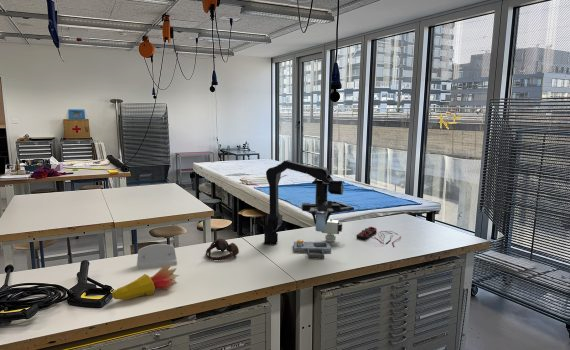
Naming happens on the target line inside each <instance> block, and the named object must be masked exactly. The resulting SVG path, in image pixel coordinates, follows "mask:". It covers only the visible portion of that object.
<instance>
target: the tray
mask: <svg viewBox="0 0 570 350" xmlns="http://www.w3.org/2000/svg"><path fill="white" fill-rule="evenodd" d="M306 253H307V257H308V259H314V260H315V259H320V260H322V259H325V253H324V252H323V250H322V249H307V252H306Z"/></svg>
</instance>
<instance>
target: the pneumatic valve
mask: <svg viewBox="0 0 570 350" xmlns="http://www.w3.org/2000/svg"><path fill="white" fill-rule="evenodd" d="M340 232H343V223H342V222H341V220H335V219H333V218H330V219H328V221H327V224H325V231H323V232H321V233H323V234H325V237H324V239H325V242H329V243H334V241H336V239H337V237H336V235H339V234H340Z"/></svg>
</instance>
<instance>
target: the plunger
mask: <svg viewBox="0 0 570 350" xmlns="http://www.w3.org/2000/svg"><path fill="white" fill-rule="evenodd" d="M296 242H297V246H303V242H304V239H297V240H296Z"/></svg>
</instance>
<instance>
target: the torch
mask: <svg viewBox="0 0 570 350" xmlns="http://www.w3.org/2000/svg"><path fill="white" fill-rule="evenodd" d="M173 263H174V262H172V263H170V264H167V265H165V266H164V267H160V269H159V270H158V271H157V272H156V273H155V274H154V275H152V276H149V275H148V274H146V273H144V274H142V275H141V276H139V277H138V278H137V279H135V280H133V281H131V282H129V283H127V284H125V285H123V286H121V287H118V288H117V289H115V290H114V291H113V292H112V293H111V297H112V298H113V299H114V300H129V299H133V298H136V297H142V296H144V297H145V296H151V295H152V296H154V294H155V293H154V292H155V290H167V289H169V288H171V287H173V286H174V285H176V284H178V282H177V280H176V278H177V277H180V276H181V275H180V274H176V273H175V272H176V271H177V268H178V267H173V268H171V267H172V266H171V265H172V264H173Z"/></svg>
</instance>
